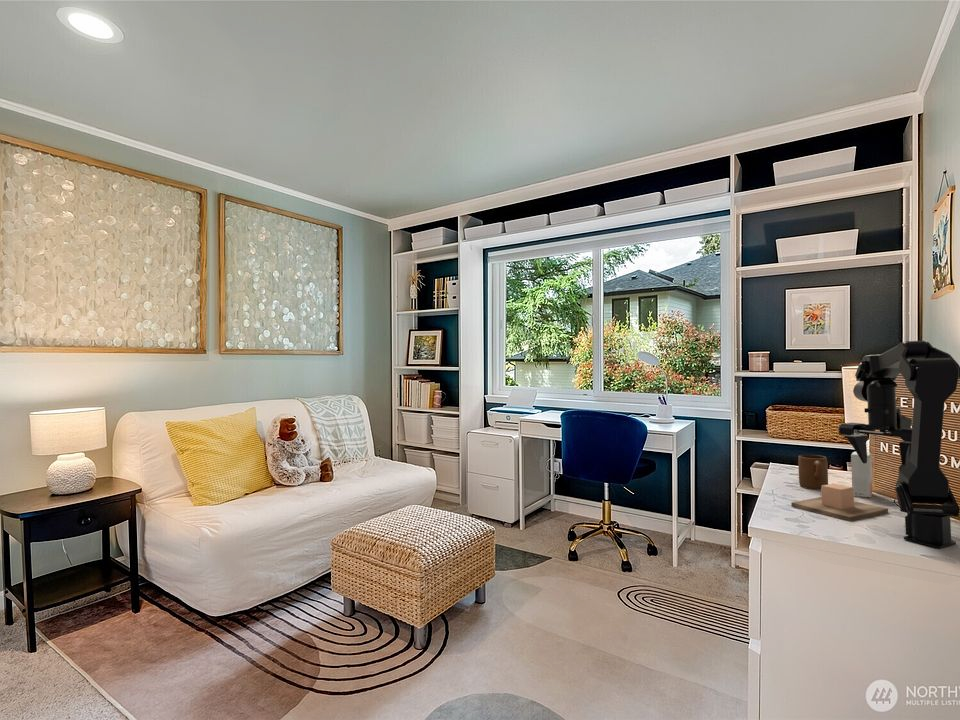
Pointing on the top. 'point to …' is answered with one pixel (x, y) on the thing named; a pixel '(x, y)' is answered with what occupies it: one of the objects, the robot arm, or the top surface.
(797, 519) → the top surface
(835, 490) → the terracotta cube
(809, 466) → the mug
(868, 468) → the skincare box
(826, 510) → the walnut board
